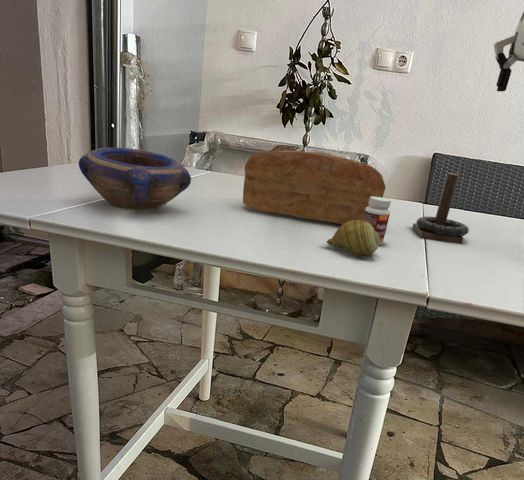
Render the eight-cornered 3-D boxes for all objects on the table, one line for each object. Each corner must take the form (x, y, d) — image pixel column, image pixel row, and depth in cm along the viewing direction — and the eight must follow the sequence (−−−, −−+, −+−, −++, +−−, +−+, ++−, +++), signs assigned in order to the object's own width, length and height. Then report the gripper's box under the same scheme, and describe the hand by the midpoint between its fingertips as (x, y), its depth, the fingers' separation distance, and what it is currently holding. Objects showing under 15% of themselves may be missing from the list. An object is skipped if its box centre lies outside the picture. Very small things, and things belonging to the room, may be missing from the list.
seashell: (327, 269, 93) (320, 241, 86) (333, 239, 96) (327, 210, 89) (381, 271, 90) (378, 242, 83) (385, 240, 93) (383, 209, 86)
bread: (247, 201, 121) (254, 141, 115) (376, 223, 117) (390, 161, 111) (234, 209, 110) (241, 143, 104) (376, 234, 106) (391, 167, 100)
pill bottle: (376, 246, 96) (386, 202, 93) (354, 240, 99) (363, 196, 95) (386, 243, 100) (397, 200, 96) (365, 237, 102) (374, 195, 99)
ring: (458, 228, 117) (460, 219, 117) (473, 240, 108) (476, 231, 107) (411, 222, 117) (413, 213, 116) (422, 233, 107) (424, 223, 107)
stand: (450, 233, 117) (467, 174, 111) (462, 243, 109) (481, 180, 103) (412, 228, 117) (427, 168, 111) (421, 237, 109) (438, 174, 103)
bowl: (129, 222, 89) (130, 163, 85) (68, 200, 98) (66, 145, 94) (199, 213, 103) (203, 161, 98) (140, 195, 112) (141, 146, 107)
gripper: (518, -14, 95) (489, 88, 102) (608, -2, 95) (573, 99, 102) (502, -7, 101) (476, 89, 109) (587, 5, 102) (555, 99, 109)
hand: (523, 94), depth 106 cm, fingers open, 9 cm apart
